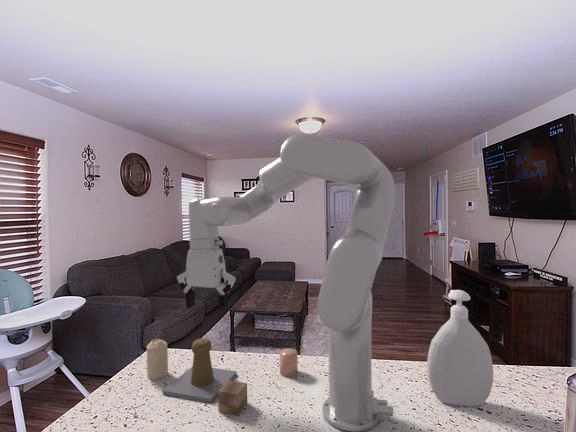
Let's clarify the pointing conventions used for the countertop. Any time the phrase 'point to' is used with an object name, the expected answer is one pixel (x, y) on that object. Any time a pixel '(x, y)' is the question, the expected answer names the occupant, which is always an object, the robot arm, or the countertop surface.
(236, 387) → the walnut block
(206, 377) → the olive tall rounded piece
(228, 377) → the slate tile
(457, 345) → the soap bottle
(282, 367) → the peach blob
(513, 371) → the countertop surface
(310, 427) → the countertop surface
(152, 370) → the candle
